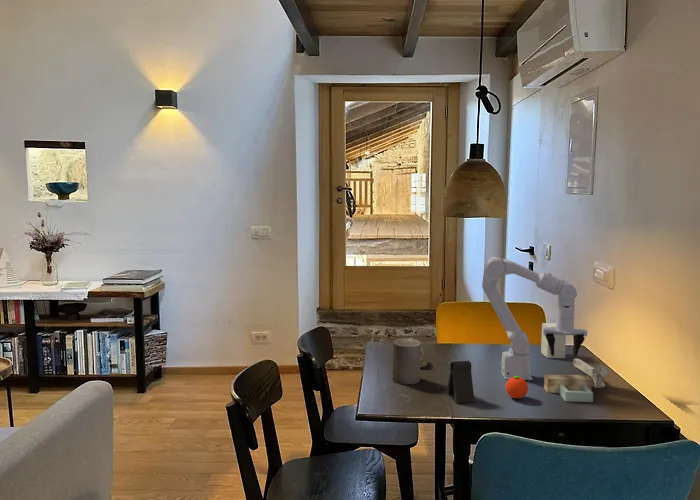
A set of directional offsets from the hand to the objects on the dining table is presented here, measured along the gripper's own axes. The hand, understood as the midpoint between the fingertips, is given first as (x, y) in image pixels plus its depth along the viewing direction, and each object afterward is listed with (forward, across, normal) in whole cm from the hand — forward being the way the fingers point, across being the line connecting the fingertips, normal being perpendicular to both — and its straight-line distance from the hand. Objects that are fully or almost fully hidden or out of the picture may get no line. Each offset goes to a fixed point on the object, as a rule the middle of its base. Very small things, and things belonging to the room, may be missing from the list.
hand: (563, 355), depth 188 cm
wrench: (+9, +10, +3) cm, 14 cm away
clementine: (+9, -19, -18) cm, 28 cm away
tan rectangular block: (+9, -1, -10) cm, 14 cm away
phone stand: (+9, -37, -20) cm, 43 cm away
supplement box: (+9, +4, +29) cm, 30 cm away
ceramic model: (+10, -53, +14) cm, 55 cm away
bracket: (+9, 0, -15) cm, 18 cm away
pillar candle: (+9, -54, -6) cm, 56 cm away
